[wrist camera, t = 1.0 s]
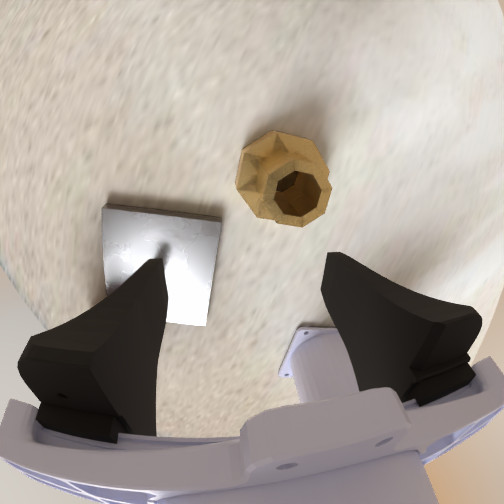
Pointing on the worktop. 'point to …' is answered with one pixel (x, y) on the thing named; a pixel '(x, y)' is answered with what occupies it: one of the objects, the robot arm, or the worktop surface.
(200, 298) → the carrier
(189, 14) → the worktop surface
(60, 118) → the worktop surface
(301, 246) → the worktop surface
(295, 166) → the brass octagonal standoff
